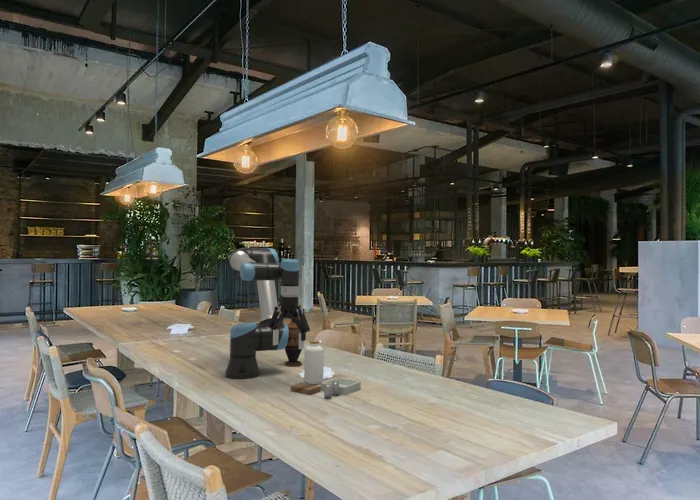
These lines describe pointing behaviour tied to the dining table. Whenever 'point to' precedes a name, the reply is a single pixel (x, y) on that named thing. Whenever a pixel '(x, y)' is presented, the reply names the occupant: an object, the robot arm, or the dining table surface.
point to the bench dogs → (331, 390)
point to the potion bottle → (314, 363)
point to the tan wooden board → (305, 388)
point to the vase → (293, 344)
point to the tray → (344, 385)
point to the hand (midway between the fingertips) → (288, 346)
